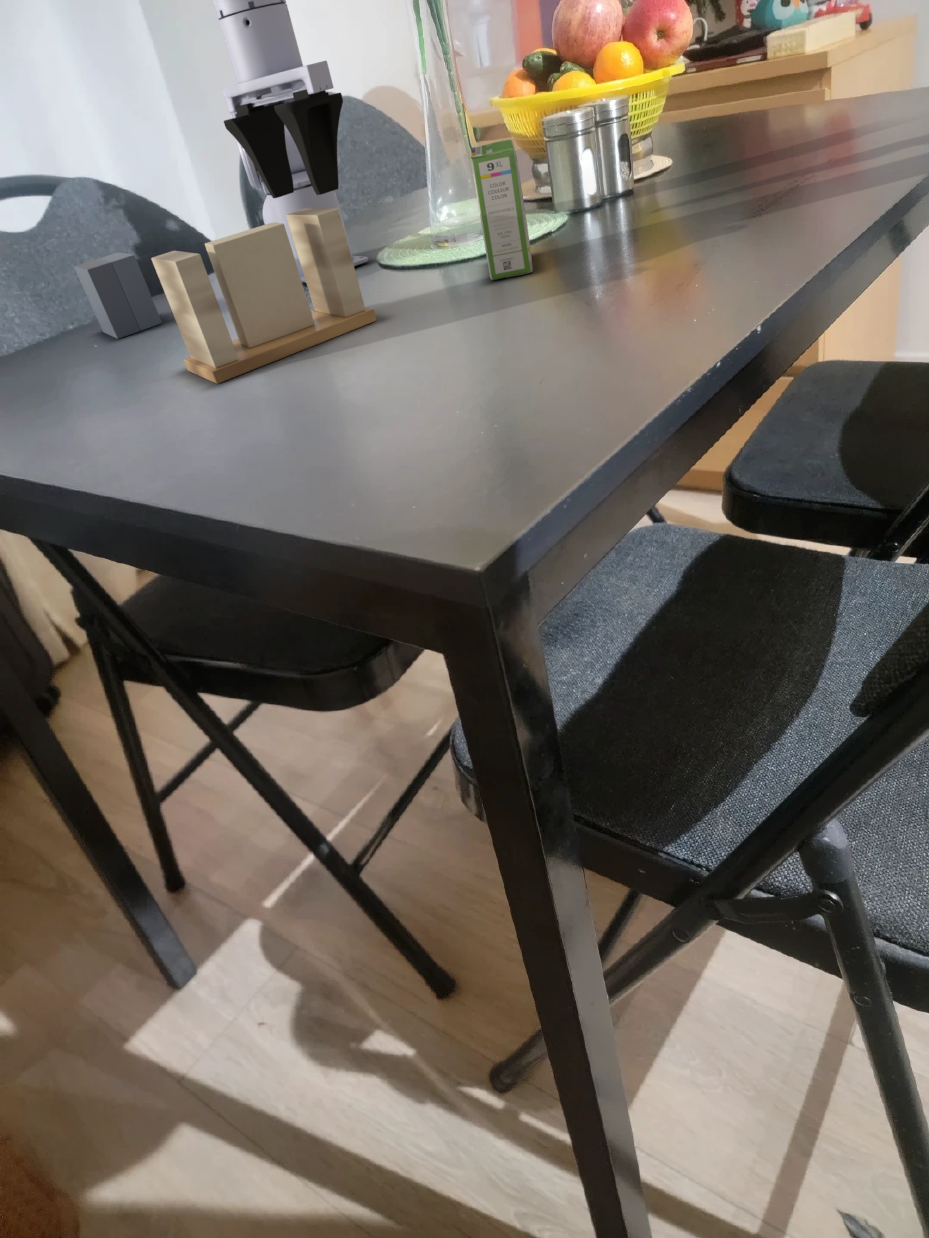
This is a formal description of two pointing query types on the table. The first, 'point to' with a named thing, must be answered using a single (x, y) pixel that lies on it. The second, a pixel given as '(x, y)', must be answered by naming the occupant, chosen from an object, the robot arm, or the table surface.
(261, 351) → the book rack
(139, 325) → the grey books
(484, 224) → the ink box
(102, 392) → the table surface
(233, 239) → the cream book
